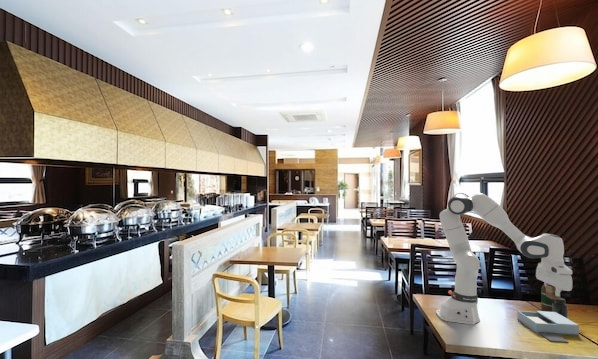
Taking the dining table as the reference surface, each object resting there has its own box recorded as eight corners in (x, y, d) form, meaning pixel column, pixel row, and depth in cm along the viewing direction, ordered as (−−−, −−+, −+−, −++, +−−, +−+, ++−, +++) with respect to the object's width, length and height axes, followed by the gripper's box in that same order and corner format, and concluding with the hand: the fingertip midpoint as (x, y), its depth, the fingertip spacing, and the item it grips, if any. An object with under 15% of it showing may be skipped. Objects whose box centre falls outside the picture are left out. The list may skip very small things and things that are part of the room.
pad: (550, 341, 146) (550, 340, 146) (539, 333, 154) (539, 332, 154) (568, 342, 145) (568, 341, 145) (555, 334, 153) (555, 333, 153)
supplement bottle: (571, 322, 167) (570, 301, 167) (557, 321, 168) (556, 300, 169) (562, 317, 174) (562, 297, 174) (549, 316, 175) (549, 295, 175)
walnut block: (551, 299, 148) (551, 287, 148) (545, 296, 152) (545, 284, 152) (560, 299, 147) (560, 287, 148) (554, 296, 151) (554, 284, 152)
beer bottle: (553, 314, 177) (553, 274, 178) (538, 310, 184) (537, 271, 185) (559, 312, 181) (559, 272, 182) (544, 307, 188) (544, 269, 189)
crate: (536, 333, 154) (536, 322, 154) (517, 319, 170) (517, 309, 170) (578, 335, 152) (578, 324, 152) (555, 322, 168) (555, 312, 168)
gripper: (532, 261, 161) (532, 286, 160) (560, 271, 141) (561, 300, 140) (544, 261, 160) (545, 287, 160) (575, 272, 140) (575, 301, 139)
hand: (552, 293), depth 150 cm, fingers closed on walnut block, 4 cm apart
